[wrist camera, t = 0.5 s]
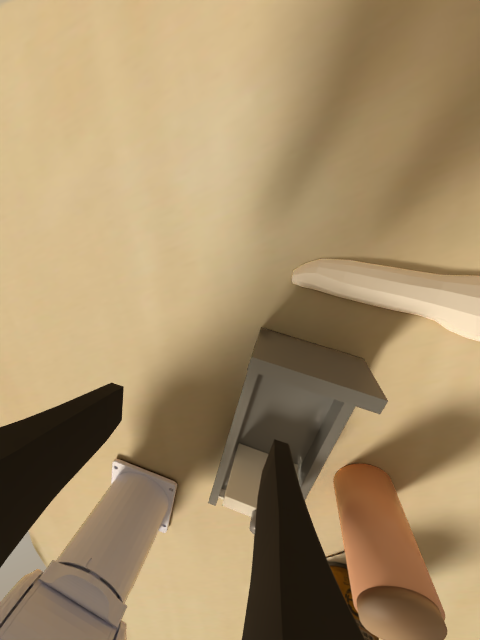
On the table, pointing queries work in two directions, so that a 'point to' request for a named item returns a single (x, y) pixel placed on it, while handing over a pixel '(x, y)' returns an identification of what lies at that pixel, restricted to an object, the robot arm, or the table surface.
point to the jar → (385, 559)
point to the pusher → (246, 482)
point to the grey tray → (297, 403)
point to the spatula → (399, 291)
